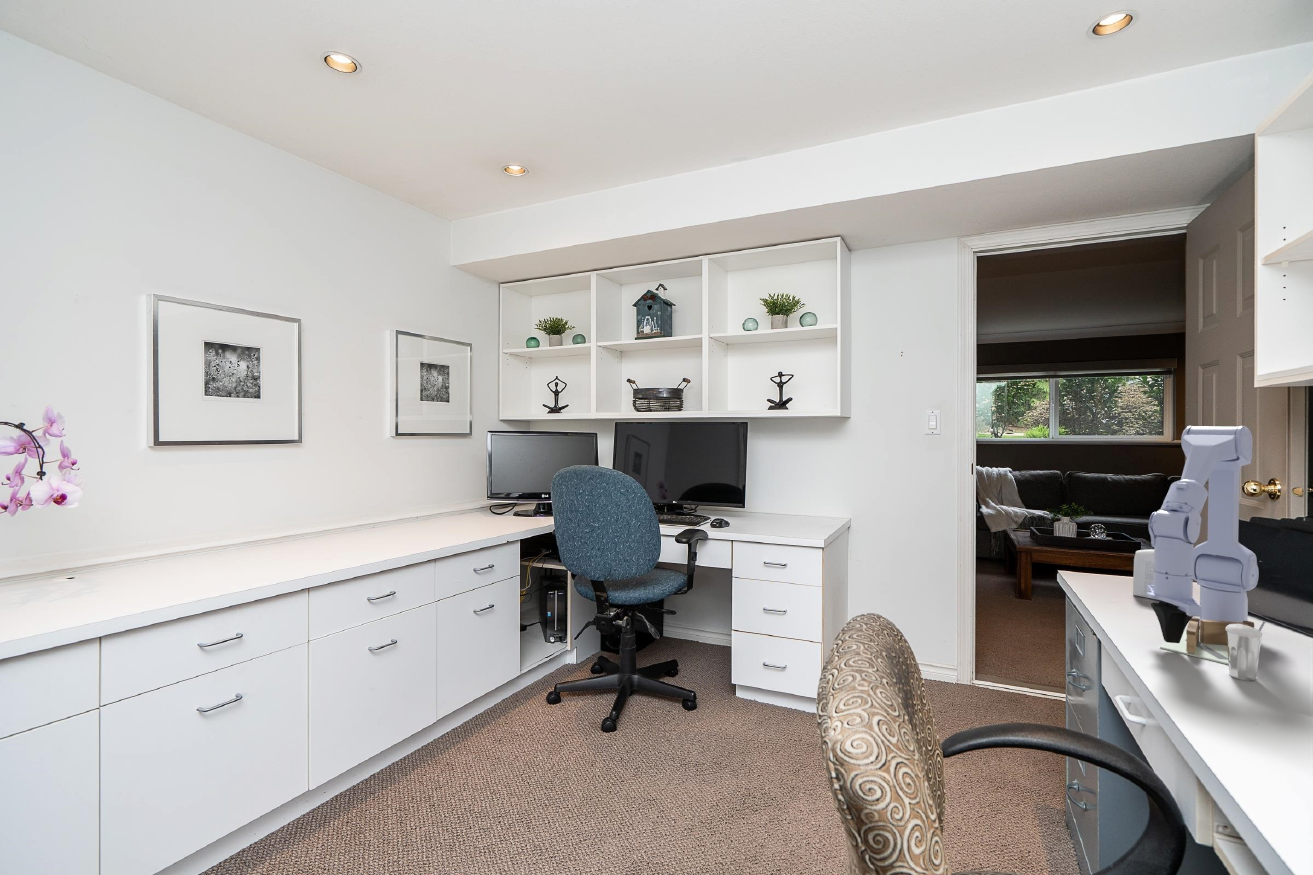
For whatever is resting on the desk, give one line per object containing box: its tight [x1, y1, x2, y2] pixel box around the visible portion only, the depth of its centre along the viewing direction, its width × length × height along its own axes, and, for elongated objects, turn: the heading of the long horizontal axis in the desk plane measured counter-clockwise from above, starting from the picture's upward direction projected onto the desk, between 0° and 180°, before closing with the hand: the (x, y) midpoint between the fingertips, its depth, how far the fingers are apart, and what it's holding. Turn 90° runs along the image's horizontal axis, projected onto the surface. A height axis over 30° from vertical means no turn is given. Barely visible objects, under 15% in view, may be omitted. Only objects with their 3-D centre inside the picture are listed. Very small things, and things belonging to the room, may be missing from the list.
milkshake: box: [1225, 621, 1266, 682], centre depth 103 cm, size 4×5×10 cm
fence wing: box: [1185, 621, 1198, 653], centre depth 115 cm, size 8×1×4 cm, turn 135°
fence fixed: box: [1190, 616, 1255, 645], centre depth 118 cm, size 2×10×5 cm, turn 75°
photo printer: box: [1132, 548, 1159, 601], centre depth 149 cm, size 10×4×12 cm, turn 35°
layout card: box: [1159, 630, 1229, 666], centre depth 117 cm, size 16×11×1 cm
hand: (1171, 641), depth 115 cm, fingers closed
